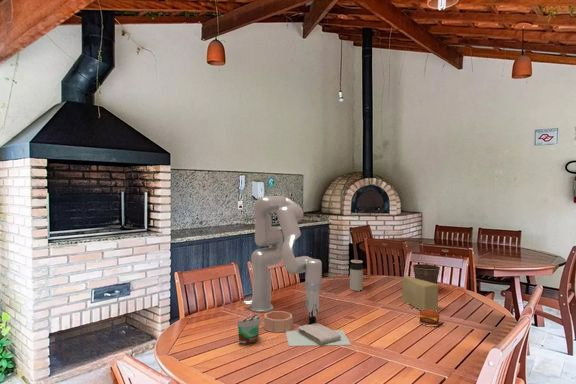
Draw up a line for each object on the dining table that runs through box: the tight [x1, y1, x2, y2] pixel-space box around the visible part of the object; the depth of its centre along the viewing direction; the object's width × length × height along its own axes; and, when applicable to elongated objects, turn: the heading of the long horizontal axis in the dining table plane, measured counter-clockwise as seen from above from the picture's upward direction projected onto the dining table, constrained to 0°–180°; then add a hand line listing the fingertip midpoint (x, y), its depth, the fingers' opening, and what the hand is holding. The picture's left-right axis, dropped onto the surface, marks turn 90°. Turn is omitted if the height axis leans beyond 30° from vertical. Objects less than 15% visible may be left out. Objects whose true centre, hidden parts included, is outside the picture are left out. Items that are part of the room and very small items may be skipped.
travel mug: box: [349, 259, 364, 292], centre depth 250 cm, size 8×8×18 cm
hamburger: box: [417, 309, 441, 325], centre depth 193 cm, size 9×10×7 cm
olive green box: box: [401, 275, 439, 311], centre depth 219 cm, size 22×10×15 cm, turn 25°
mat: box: [285, 329, 352, 347], centre depth 173 cm, size 26×16×1 cm, turn 95°
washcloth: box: [296, 322, 341, 344], centre depth 174 cm, size 12×18×3 cm, turn 34°
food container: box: [236, 313, 262, 346], centre depth 167 cm, size 12×6×10 cm, turn 148°
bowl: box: [263, 310, 293, 334], centre depth 184 cm, size 13×13×6 cm
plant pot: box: [412, 263, 441, 284], centre depth 247 cm, size 16×16×16 cm
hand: (312, 325), depth 186 cm, fingers closed
